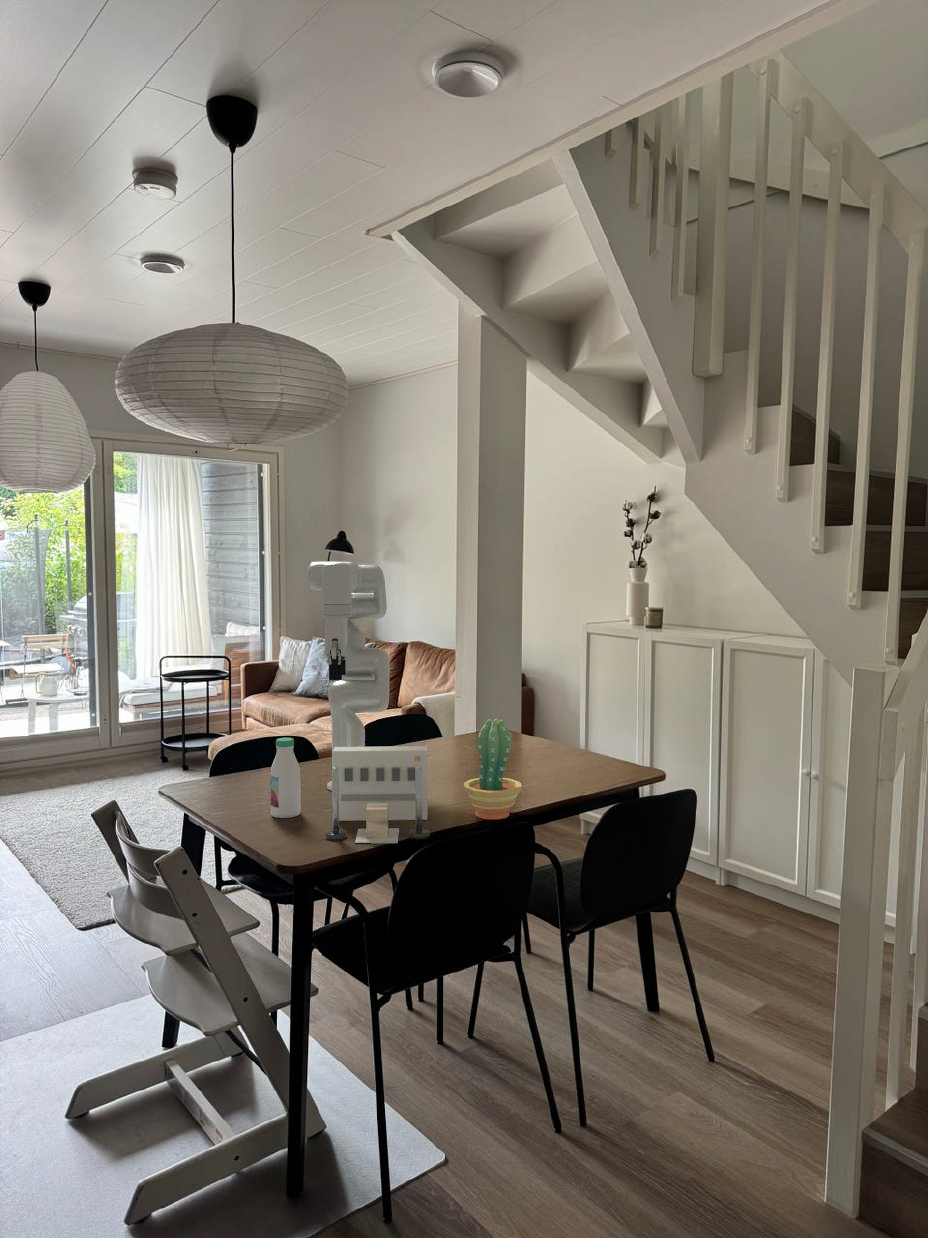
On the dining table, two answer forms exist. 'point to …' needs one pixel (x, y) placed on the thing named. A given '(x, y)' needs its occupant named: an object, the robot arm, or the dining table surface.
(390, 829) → the mat
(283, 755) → the milk bottle
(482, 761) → the potted cactus
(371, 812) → the birch block
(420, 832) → the post
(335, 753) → the switch box
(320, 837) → the dining table surface
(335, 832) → the post
